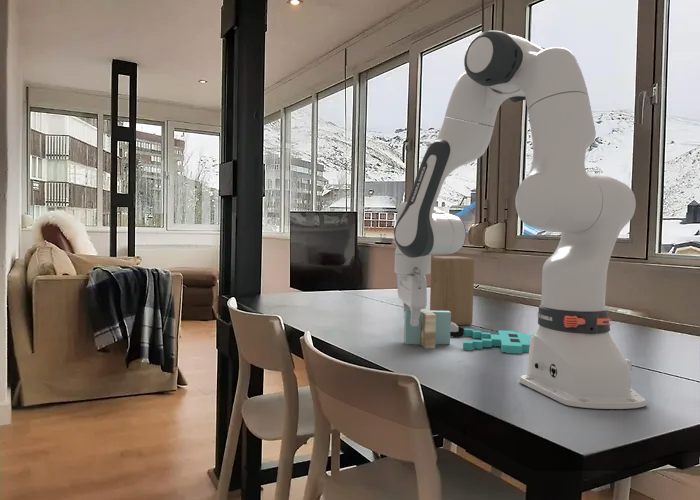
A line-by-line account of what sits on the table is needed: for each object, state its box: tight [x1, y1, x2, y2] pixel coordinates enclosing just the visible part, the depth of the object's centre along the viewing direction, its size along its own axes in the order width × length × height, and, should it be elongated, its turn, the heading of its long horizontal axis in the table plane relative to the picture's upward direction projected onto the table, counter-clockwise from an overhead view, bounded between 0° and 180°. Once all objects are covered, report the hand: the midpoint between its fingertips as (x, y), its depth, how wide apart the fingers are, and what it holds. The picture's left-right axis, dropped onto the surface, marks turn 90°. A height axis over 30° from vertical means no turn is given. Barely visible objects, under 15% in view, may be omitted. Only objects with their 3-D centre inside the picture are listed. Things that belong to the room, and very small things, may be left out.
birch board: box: [419, 307, 436, 350], centre depth 141 cm, size 12×2×8 cm, turn 4°
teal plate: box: [403, 309, 451, 345], centre depth 141 cm, size 2×11×8 cm, turn 94°
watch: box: [450, 322, 464, 338], centre depth 153 cm, size 8×5×4 cm, turn 57°
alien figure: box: [462, 327, 535, 355], centre depth 143 cm, size 20×2×20 cm
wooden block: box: [429, 255, 475, 326], centre depth 173 cm, size 10×10×20 cm
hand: (410, 322), depth 141 cm, fingers open, 8 cm apart
